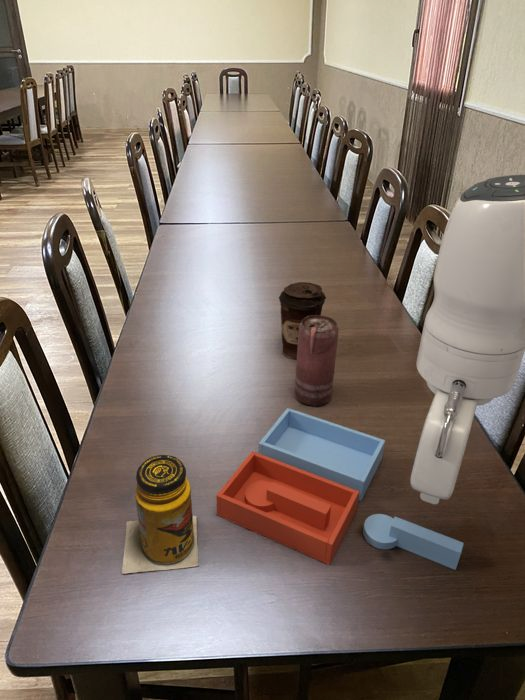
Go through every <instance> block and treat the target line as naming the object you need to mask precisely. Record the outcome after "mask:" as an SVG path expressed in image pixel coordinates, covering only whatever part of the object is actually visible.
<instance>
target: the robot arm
mask: <svg viewBox="0 0 525 700" xmlns="http://www.w3.org/2000/svg"><path fill="white" fill-rule="evenodd" d="M433 287H434V288H433V289H434V294H433V295H434V296H433V300H432V303H431V305H430V307H429V308H428V310H427V312H426V315H425V318H424V323H423V328H422V332H421V337H420V342H419V348H418V351H417V356H416V363H415V365H416V370H417V372H418V374H419V375H420V376H421V378H422V379H423V380H424V381H425V383H426V386H427V388H428V389H429V390H430V391H431V392H432V393H433V394H434V396H433V398H432V401H431V404H430V407H429V409H428V412H427V415H426V418H425V420H424V422H423V423H424V424H423V426H422V430H421V433H420V438H419V442H418V446H417V448H416V449H417V450H416V454H415V457H414V461H413V467H412V469H411V475H410V480H409V481H410V482H409V483H410V487H411V488H412V489H413V490H414V491H416V492H419V494H420V495H419V498H420V499H421V501H423V502H426V503H428V504H432V505H438V504H439V502H440V500H445V501H446V500H449V499H450V498H451V497H452V496H453V493H454V491H455V487H456V484H457V480H458V477H459V473H460V469H461V466H462V463H463V459H464V455H465V452H466V448H467V444H468V441H469V438H470V437H469V436H470V433H471V429H472V426H473V422H474V417H475V414H476V410H477V407H479V406H483V405H484V406H485V405H486V404H489V403H490V402H492V401H493V400H494V399H496V398H500V397H502V396H505V395H506V394H508V393H509V392H510V391H512V390H513V388H514V386H515V383H516V380H517V377H518V374H519V371H520V367H521V364H522V361H523V358H524V354H525V174H508V175H502V176H501V175H500V176H495V177H490V178H487V179H486V180H483V181H479V182H476V183H475V184H473V185H472V186H470V187H469V188H467V189H465V191H463V192H462V193H461V194H460V196H459V197H458V199H457V200H456V202H455V203H454V206H453V207H452V210H451V211H450V213H449V217H448V219H447V223H446V226H445V229H444V232H443V234H442V239H441V242H440V246H439V251H438V255H437V259H436V262H435V268H434V273H433Z"/></svg>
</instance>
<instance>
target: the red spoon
mask: <svg viewBox="0 0 525 700" xmlns="http://www.w3.org/2000/svg"><path fill="white" fill-rule="evenodd" d="M245 503H246V504H247V505H250V506H252V507H254V508H257V509H259V510H261V511H264V512H269V511H272V510H275V511H278V512H280V513H282V514H285V515H287V516H289V517H292V518H294V519H297V520H299V521H301V522H304V523H306V524H308V525H311V526H313V527H315V528H318V529H320V530H323V531H325V529H326V527H327V525H328V524H329V520H330V512H331V505H329V504H327V503H324V502H322V501H319V500H317V499H314V498H312V497H309V496H307V495H304V494H302V493H299V492H297V491H294V490H292V489H289V488H287V487H284V486H282V485H279V484H277V483H274V482H272V483H271V482H268V481H256V482H253V483H251V484H250V485H249V486H248V487H247V488H246V490H245Z"/></svg>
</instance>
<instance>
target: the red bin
mask: <svg viewBox="0 0 525 700" xmlns="http://www.w3.org/2000/svg"><path fill="white" fill-rule="evenodd" d="M256 481H268V482H271V483H272V482H274V483H277V484H279V485H282V486H284V487H287V488H289V489H292V490H294V491H297V492H299V493H302V494H304V495H307V496H309V497H312V498H314V499H317V500H319V501H322V502H324V503H327V504H329V505H331V512H330V520H329V524H328V525H327V527H326V529H325V531H323V530H320V529H318V528H315V527H313V526H311V525H308V524H306V523H304V522H301V521H299V520H297V519H294V518H292V517H289V516H287V515H285V514H282V513H280V512H278V511H275V510H272V511H269V512H264V511H261V510H259V509H257V508H254V507H252V506H250V505H247V504H246V503H245V490H246V488H247V487H248V486H249V485H250V484H251V483H253V482H256ZM358 497H359V491H357V490H354V489H352V488H349V487H346V486H344V485H341V484H338V483H336V482H333V481H331V480H328V479H325V478H323V477H320V476H317V475H315V474H312V473H309V472H307V471H304V470H301V469H299V468H296V467H293V466H291V465H288V464H285V463H283V462H280V461H277V460H275V459H272V458H270V457H267V456H264V455H262V454H259V452H256V451H254V450H252V451H251V452H250V453H249V455H248V456H247V457H246V458H245V459H244V461H243V462H242V463H241V464H240V466H239V467H238V468H237V469H236V471H235V472H234V473H233V474H232V475H231V476H230V478H229V479H228V480H227V481H226V483H225V484H224V485H223V486H222V487H221V489H220V490H219V491H218V492H217V494H216V497H215V500H216V516H217V517H220V518H222V519H225V520H227V521H229V522H231V523H233V524H236V525H238V526H240V527H243V528H245V529H247V530H249V531H252V532H254V533H256V534H258V535H261V536H263V537H265V538H267V539H270V540H272V541H274V542H277V543H279V544H281V545H284V546H285V547H288V548H290V549H292V550H295V551H297V552H299V553H301V554H303V555H305V556H308V557H310V558H312V559H315V560H317V561H319V562H321V563H324V564H326V565H328V566H330V565H331V563H332V561H333V560H334V557H335V555H336V553H337V551H338V549H339V548H340V545H341V543H342V542H343V539H344V537H345V535H346V533H347V531H348V529H349V527H350V525H351V523H352V521H353V519H354V517H355V514H356V513H357V510H358V509H357V508H358V503H359V500H358Z"/></svg>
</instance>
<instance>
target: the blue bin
mask: <svg viewBox="0 0 525 700" xmlns="http://www.w3.org/2000/svg"><path fill="white" fill-rule="evenodd" d="M385 445H386V439H383V438H379V437H376V436H373V435H371V434H368V433H364V432H362V431H358V430H355V429H352V428H350V427H346V426H344V425H341V424H337V423H334V422H332V421H328V420H327V419H326V420H325V419H323V418H321V417H316V416H315V415H314V416H313V415H311V414H308V413H304V412H302V411H299V410H295V409H292V408H289V407H287V408H286V409H285V410H284V411H283V412H282V414H281V415H280V416H279V418H278V419H277V420H276V421H275V423H273V425H272V426H271V428H270V429H268V431H267V432H266V434H265V435H264V436H263V437H262V438H261V439H260V441H259V442H258V453H259V454H262V455H264V456H267V457H270V458H272V459H275V460H277V461H280V462H283V463H285V464H288V465H291V466H293V467H296V468H299V469H301V470H304V471H307V472H309V473H312V474H315V475H317V476H320V477H323V478H325V479H328V480H331V481H333V482H336V483H338V484H341V485H344V486H346V487H349V488H352V489H354V490H357V491H359V497H358V502H362V500H363V499H364V496H365V495H366V492H367V490H368V488H369V486H370V484H371V482H372V480H373V478H374V476H375V474H376V472H377V470H378V469H379V467H380V464H381V462H382V460H383V455H384V451H385Z"/></svg>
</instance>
